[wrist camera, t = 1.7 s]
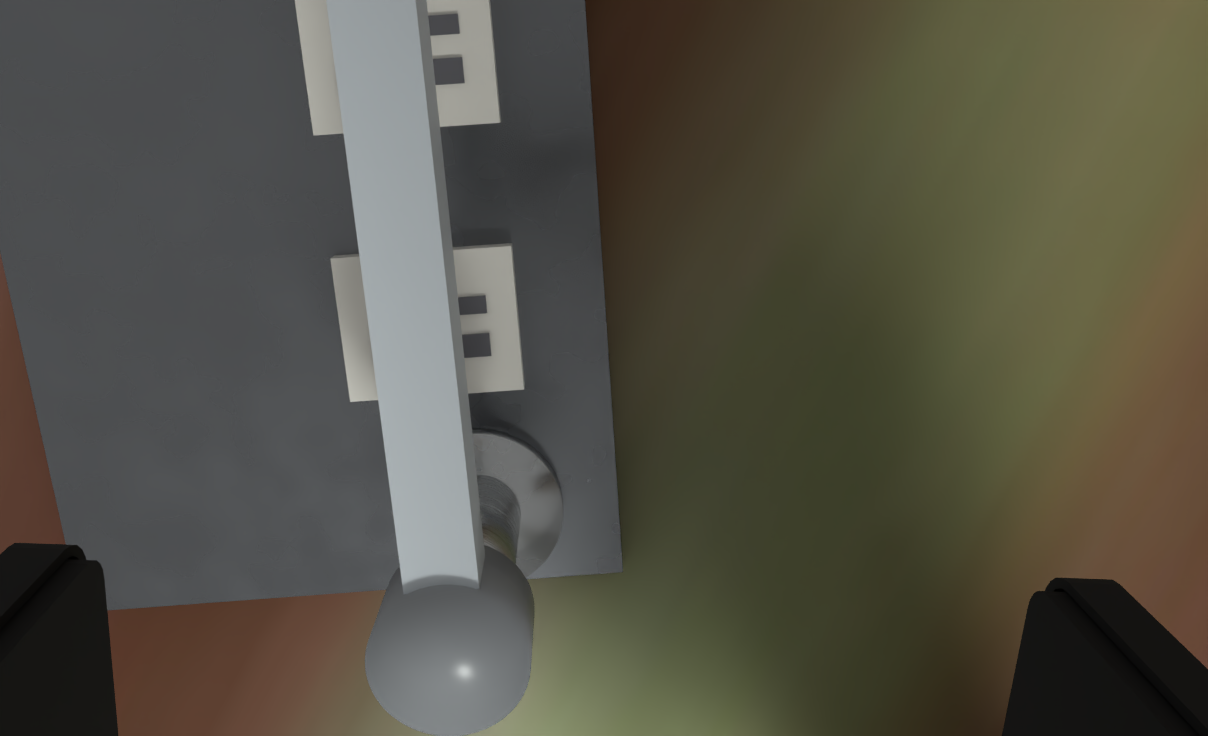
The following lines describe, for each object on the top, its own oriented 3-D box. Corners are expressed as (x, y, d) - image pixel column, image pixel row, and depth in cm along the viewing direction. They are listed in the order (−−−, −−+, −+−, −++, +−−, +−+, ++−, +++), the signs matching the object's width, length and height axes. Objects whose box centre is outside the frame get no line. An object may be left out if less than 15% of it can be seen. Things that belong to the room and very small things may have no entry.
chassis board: (575, -130, 33) (575, -135, 33) (621, 562, 40) (622, 572, 39) (-62, -88, 33) (-77, -92, 32) (90, 601, 40) (81, 612, 39)
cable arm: (540, 669, 32) (537, 729, 29) (393, 680, 32) (375, 742, 29) (457, -231, 25) (442, -270, 22) (270, -219, 25) (231, -257, 22)
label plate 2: (512, 243, 36) (510, 246, 35) (524, 384, 37) (523, 390, 36) (334, 255, 36) (329, 259, 35) (353, 396, 37) (349, 402, 36)
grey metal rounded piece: (556, 422, 37) (553, 500, 31) (569, 576, 39) (569, 681, 32) (387, 435, 37) (347, 515, 31) (407, 587, 39) (373, 696, 32)
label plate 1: (486, -41, 33) (484, -44, 32) (501, 122, 35) (499, 122, 34) (295, -29, 33) (289, -31, 32) (317, 134, 34) (312, 135, 34)
